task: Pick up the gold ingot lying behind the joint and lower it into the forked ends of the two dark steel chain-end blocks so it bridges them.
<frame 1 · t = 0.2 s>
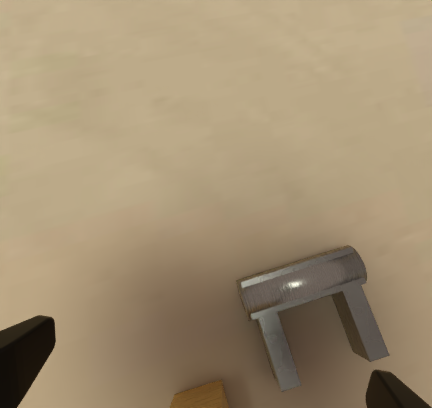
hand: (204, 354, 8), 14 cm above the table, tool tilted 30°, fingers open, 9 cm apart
chain end b: (305, 311, 22), on the table
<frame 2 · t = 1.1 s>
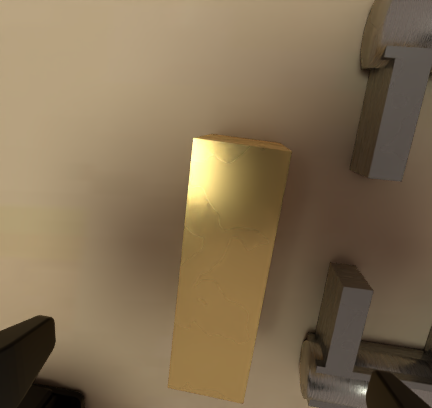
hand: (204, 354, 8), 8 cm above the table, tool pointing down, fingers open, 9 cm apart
gold ingot: (230, 239, 16), on the table
chain end a: (385, 328, 16), on the table
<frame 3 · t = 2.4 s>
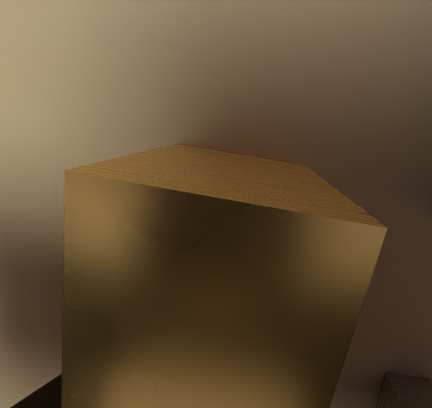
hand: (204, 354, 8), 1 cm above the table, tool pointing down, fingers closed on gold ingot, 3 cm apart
gold ingot: (210, 328, 9), on the table, touching gripper
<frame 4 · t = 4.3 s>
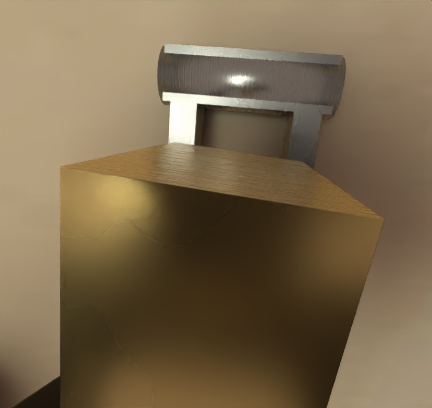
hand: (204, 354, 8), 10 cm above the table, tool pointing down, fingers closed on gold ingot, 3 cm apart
chain end b: (244, 128, 17), on the table
gold ingot: (209, 327, 9), point 9 cm above the table, touching gripper
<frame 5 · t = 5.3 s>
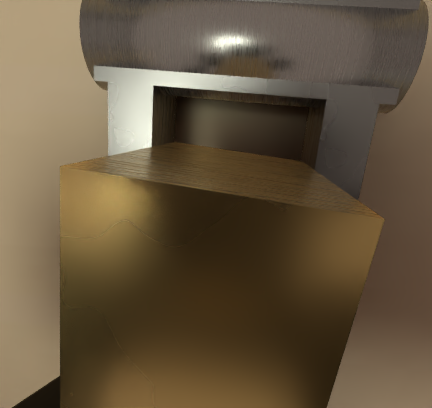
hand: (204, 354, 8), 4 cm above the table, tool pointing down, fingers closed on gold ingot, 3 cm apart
chain end b: (238, 129, 11), on the table
gold ingot: (209, 326, 9), point 3 cm above the table, touching gripper
when the fingers open (2 cm above the table, at t = 5.9 s): gold ingot drops 2 cm, on the table.
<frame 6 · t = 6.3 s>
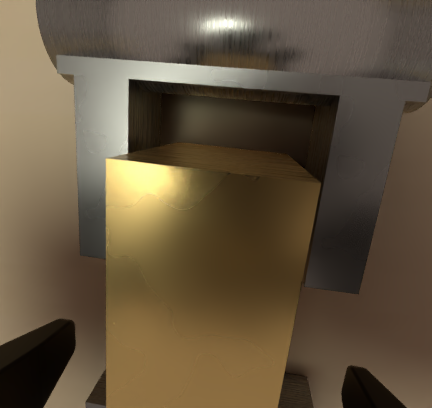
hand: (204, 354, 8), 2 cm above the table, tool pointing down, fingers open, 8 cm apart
chain end b: (233, 131, 9), on the table
gold ingot: (215, 299, 11), on the table
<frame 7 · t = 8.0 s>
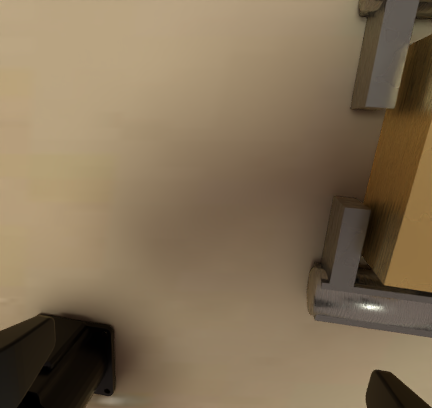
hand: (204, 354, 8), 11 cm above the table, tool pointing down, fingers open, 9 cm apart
gold ingot: (405, 158, 17), on the table
chain end a: (383, 256, 18), on the table
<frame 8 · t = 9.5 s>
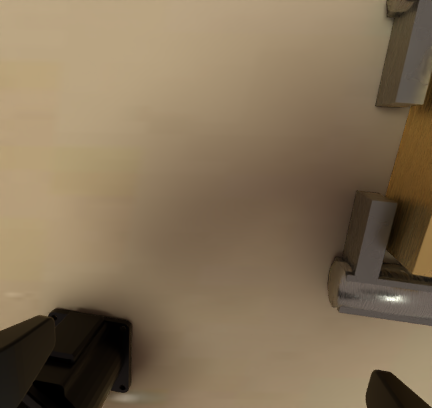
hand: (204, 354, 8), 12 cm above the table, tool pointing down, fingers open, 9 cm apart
gold ingot: (426, 155, 18), on the table
chain end a: (403, 250, 19), on the table
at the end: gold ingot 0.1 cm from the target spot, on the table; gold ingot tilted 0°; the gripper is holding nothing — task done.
